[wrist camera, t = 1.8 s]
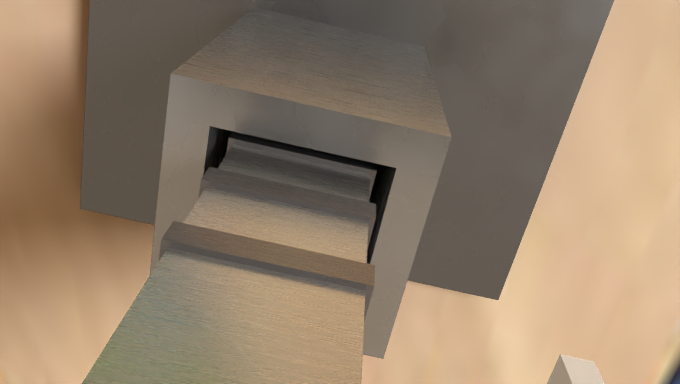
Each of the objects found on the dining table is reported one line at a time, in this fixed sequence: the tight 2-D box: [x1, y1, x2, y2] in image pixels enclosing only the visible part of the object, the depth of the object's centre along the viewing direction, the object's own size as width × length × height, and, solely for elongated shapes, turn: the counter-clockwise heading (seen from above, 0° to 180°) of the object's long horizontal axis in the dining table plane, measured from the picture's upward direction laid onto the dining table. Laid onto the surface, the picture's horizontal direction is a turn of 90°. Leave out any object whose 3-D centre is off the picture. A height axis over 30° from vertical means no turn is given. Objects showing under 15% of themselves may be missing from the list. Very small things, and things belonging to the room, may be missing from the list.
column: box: [82, 131, 377, 384], centre depth 19 cm, size 4×4×22 cm
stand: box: [80, 0, 614, 359], centre depth 24 cm, size 16×22×13 cm
